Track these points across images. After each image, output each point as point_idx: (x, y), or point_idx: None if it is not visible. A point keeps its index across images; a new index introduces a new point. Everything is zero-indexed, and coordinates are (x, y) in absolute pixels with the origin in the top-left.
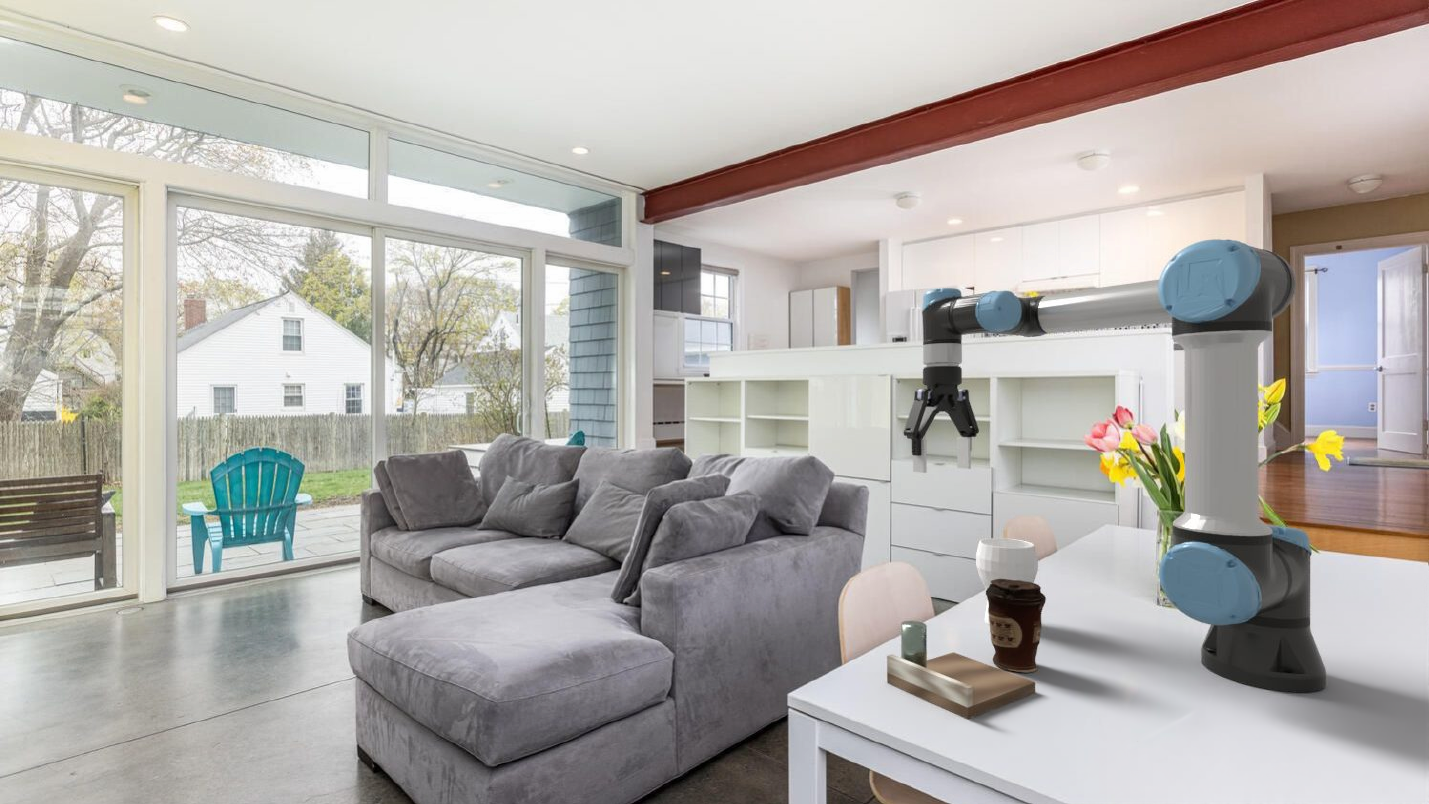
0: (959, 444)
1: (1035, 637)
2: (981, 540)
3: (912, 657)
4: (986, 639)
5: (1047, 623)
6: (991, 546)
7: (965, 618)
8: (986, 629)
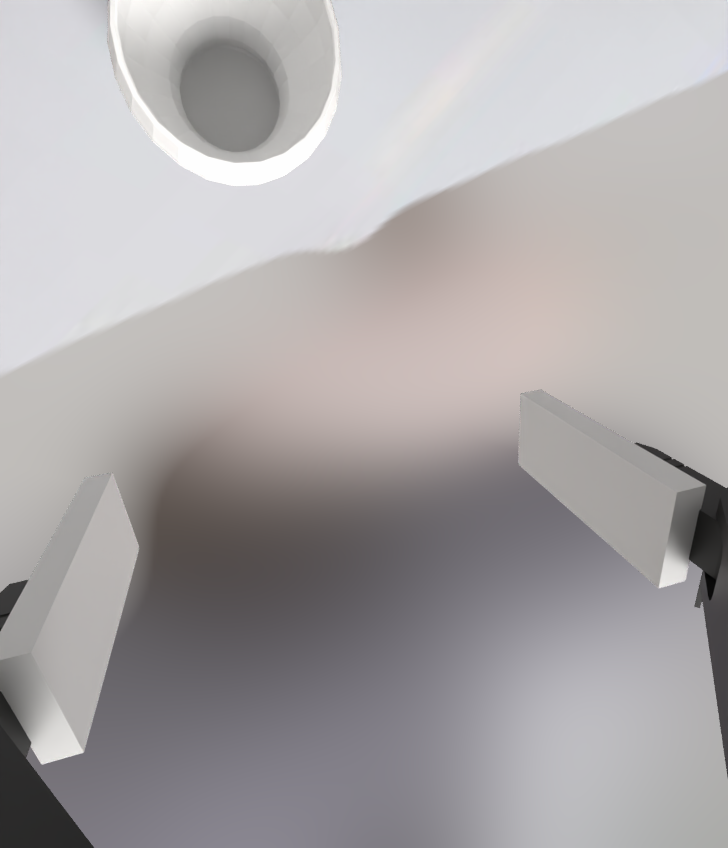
0: (95, 666)
1: None
2: (286, 150)
3: None
4: (374, 41)
5: None
6: (337, 35)
7: (299, 199)
8: None
